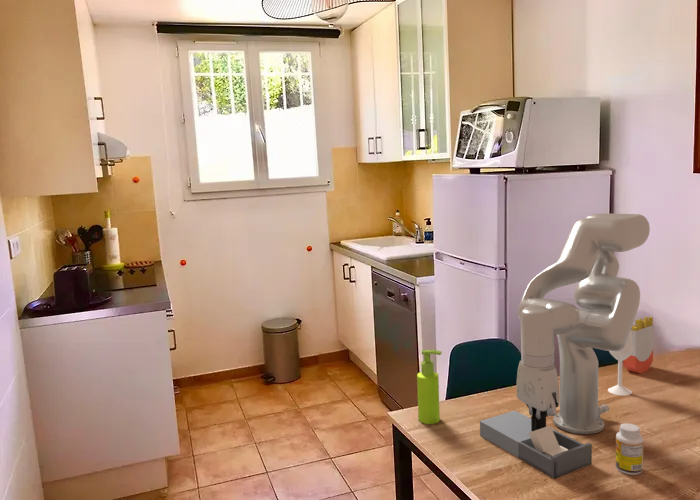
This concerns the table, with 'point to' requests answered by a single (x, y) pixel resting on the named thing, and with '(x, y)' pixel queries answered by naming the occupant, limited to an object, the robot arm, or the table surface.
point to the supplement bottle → (629, 449)
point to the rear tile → (544, 439)
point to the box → (558, 456)
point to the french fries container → (641, 346)
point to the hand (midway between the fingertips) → (538, 431)
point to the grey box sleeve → (507, 431)
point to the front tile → (555, 451)
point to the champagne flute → (621, 356)
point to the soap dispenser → (428, 390)
